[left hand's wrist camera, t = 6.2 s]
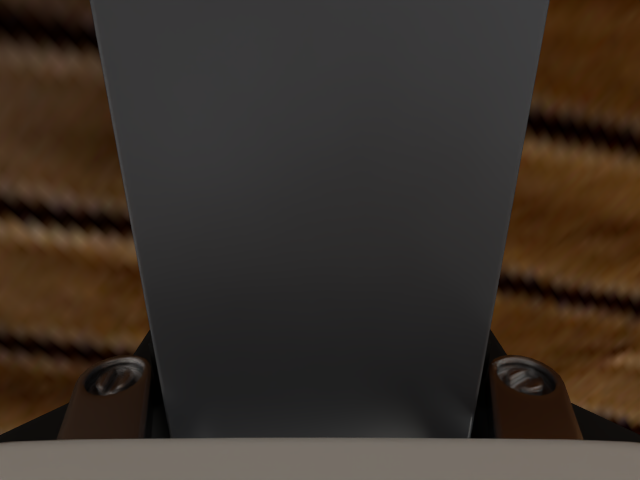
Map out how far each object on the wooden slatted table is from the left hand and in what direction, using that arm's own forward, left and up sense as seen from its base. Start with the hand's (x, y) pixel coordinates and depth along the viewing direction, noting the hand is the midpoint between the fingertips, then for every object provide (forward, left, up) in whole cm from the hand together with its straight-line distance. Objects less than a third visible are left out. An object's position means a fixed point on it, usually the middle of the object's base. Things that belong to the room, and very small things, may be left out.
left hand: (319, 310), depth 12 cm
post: (+23, +10, -3) cm, 26 cm away
